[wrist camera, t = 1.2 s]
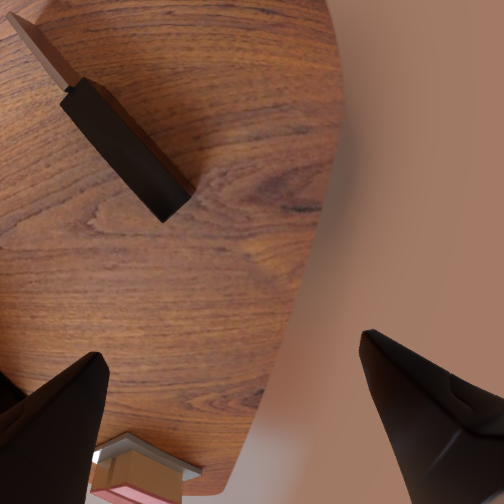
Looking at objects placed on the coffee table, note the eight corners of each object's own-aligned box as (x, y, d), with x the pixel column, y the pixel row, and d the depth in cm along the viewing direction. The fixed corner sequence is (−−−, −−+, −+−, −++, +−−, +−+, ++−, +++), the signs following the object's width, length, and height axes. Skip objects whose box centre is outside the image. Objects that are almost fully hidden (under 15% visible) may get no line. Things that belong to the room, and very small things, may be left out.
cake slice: (116, 455, 26) (109, 489, 21) (132, 448, 26) (126, 486, 20) (164, 478, 29) (162, 510, 24) (183, 473, 28) (181, 507, 23)
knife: (24, 36, 12) (-3, 25, 8) (42, 16, 11) (17, 1, 8) (172, 211, 18) (160, 227, 15) (197, 189, 18) (190, 199, 14)
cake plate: (85, 451, 27) (75, 486, 21) (127, 431, 26) (118, 476, 20) (150, 485, 31) (147, 517, 25) (202, 469, 30) (202, 509, 23)
